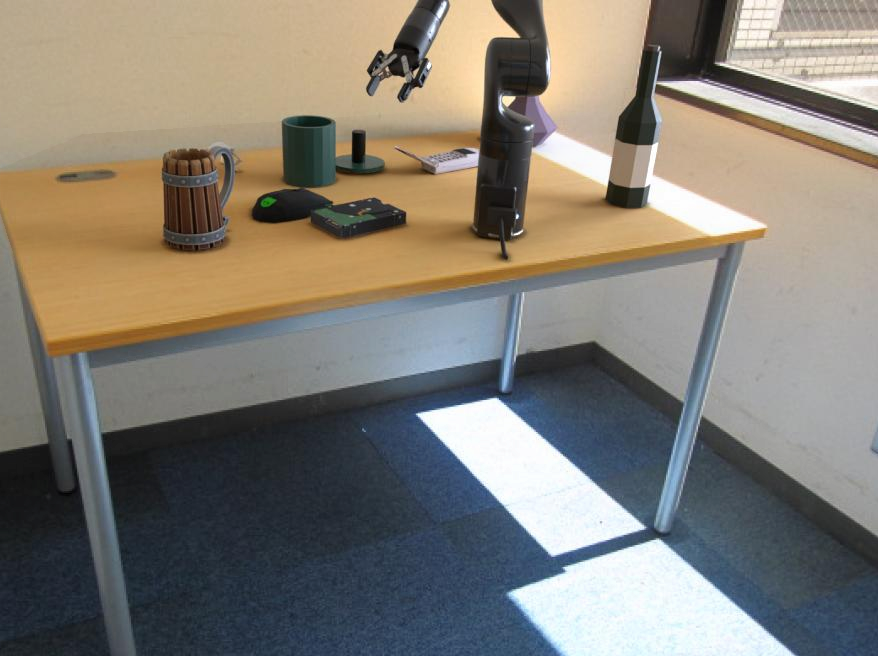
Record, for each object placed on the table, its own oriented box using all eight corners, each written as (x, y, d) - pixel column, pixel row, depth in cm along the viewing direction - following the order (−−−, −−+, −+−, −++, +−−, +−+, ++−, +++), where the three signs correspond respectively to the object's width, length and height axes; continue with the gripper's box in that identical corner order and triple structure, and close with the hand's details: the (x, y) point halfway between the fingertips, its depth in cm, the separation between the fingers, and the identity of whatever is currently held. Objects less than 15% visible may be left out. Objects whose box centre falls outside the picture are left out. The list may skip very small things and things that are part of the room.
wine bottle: (647, 210, 177) (677, 50, 161) (605, 206, 178) (631, 47, 163) (645, 197, 184) (674, 43, 168) (605, 193, 185) (630, 40, 170)
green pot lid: (376, 178, 189) (377, 140, 185) (324, 172, 191) (324, 134, 187) (390, 164, 198) (391, 127, 194) (341, 158, 201) (341, 122, 197)
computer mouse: (234, 212, 167) (233, 191, 165) (300, 194, 177) (299, 174, 175) (274, 227, 160) (273, 206, 158) (339, 208, 171) (339, 187, 169)
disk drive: (373, 210, 171) (309, 223, 163) (373, 196, 169) (309, 209, 161) (407, 226, 164) (341, 240, 156) (407, 211, 163) (342, 225, 154)
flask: (486, 148, 213) (494, 60, 203) (491, 132, 227) (499, 49, 217) (555, 153, 211) (566, 65, 201) (556, 137, 225) (566, 53, 215)
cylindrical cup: (325, 189, 181) (325, 130, 174) (275, 183, 183) (273, 124, 177) (342, 175, 190) (342, 118, 183) (294, 170, 192) (293, 113, 186)
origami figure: (246, 176, 187) (245, 152, 184) (206, 178, 184) (204, 154, 182) (236, 160, 196) (235, 138, 194) (198, 162, 194) (196, 139, 191)
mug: (197, 257, 147) (189, 167, 139) (150, 243, 151) (141, 155, 144) (257, 231, 158) (254, 147, 150) (213, 219, 163) (207, 137, 155)
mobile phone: (392, 145, 189) (481, 131, 202) (391, 173, 192) (479, 157, 205) (408, 153, 185) (498, 138, 198) (407, 180, 188) (496, 164, 201)
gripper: (384, 19, 196) (351, 81, 194) (437, 27, 188) (403, 91, 186) (398, 42, 202) (366, 102, 200) (450, 51, 195) (417, 113, 193)
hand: (384, 97), depth 193 cm, fingers open, 8 cm apart
